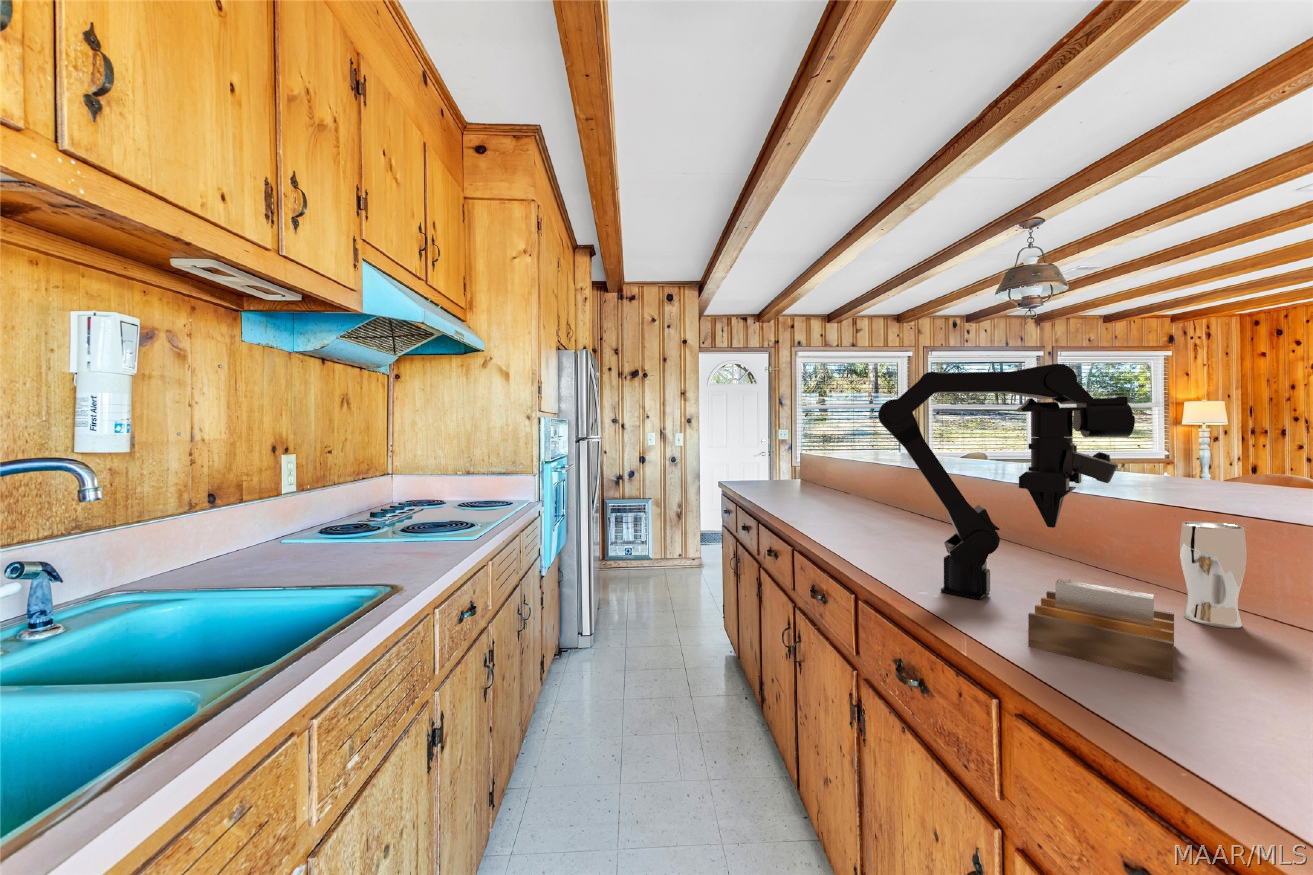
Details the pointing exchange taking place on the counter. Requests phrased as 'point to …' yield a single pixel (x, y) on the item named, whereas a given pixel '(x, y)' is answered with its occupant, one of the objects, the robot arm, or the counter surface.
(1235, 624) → the beer glass
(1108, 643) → the walnut rack
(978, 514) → the robot arm
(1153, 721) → the counter surface
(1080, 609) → the aluminium panel
